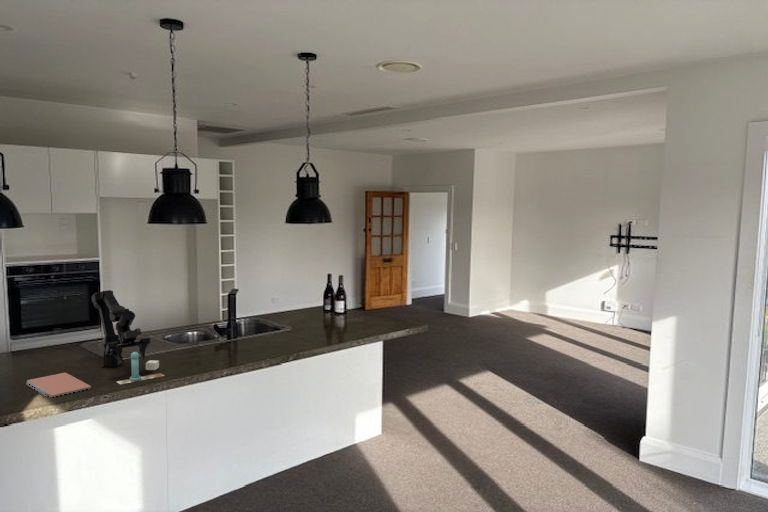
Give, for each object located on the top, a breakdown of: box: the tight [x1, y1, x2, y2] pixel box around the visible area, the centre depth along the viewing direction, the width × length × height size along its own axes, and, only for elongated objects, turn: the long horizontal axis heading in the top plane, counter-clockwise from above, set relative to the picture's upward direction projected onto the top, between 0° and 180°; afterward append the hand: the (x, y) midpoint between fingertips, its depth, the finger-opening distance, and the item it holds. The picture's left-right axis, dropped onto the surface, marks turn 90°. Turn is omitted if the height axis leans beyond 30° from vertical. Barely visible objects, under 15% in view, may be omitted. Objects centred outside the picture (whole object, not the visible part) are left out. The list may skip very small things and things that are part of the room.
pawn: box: [129, 351, 142, 382], centre depth 245 cm, size 4×4×13 cm
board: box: [116, 372, 165, 385], centre depth 247 cm, size 21×6×2 cm, turn 135°
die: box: [145, 359, 160, 371], centre depth 262 cm, size 5×5×5 cm
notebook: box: [26, 372, 92, 399], centre depth 237 cm, size 27×17×2 cm, turn 51°
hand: (133, 361), depth 246 cm, fingers open, 9 cm apart
